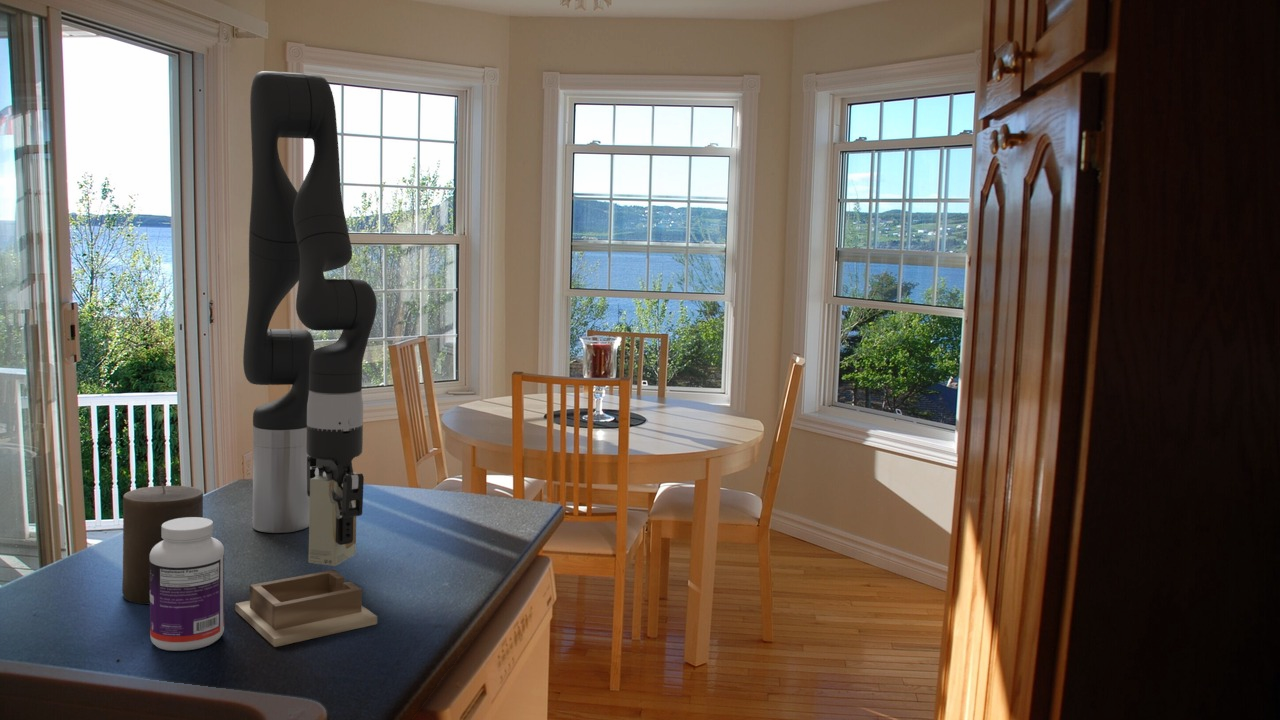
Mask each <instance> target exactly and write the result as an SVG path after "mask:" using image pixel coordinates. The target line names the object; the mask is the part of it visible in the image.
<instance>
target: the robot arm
mask: <svg viewBox="0 0 1280 720" xmlns="http://www.w3.org/2000/svg"><path fill="white" fill-rule="evenodd" d="M250 89H251V90H250V96H249V97H250V101H249V103H250V110H249V111H250V130H251V131H250V133H251V134H250V137H251V161H252V169H251V171H252V175H251V177H252V179H251V181H252V182H251V200H250V201H251V202H250V215H249V229H248V231H249V233H248V235H249V236H248V300H247V301H248V303H247V311H246V313H247V314H246V321H245V322H246V324H245V333H244V343H243V353H242V354H243V361H242V364H243V371H244V372H243V373H244V377H245V378H246V380H247V382H248V383H250V384H252V385H258V386H270V385H271V386H282V385H283V386H284V385H285V386H286V385H287V386H288V385H289V386H290V385H291V389H290V390H289V391H288V392H286V394H284V395H282V396H281V397H280V398H277V399H275V400H273V401H271V402H268V403H265V404H262V405H259V406H257V407H256V408H255V409H254V410H253V413H252V528H253V530H255V531H258V532H262V533H269V534H282V533H283V534H284V533H293V532H297V531H302V530H305V529H307V528H309V511H310V479H311V478H314V477H317V476H321V475H323V478H324V479H325V480H326V481H330V480H334V481H336V482H337V483H338V486H339V488H341V490H342V491H343V495H336V493H335V491H334V490H333V488H332V487H331V485H330V494H331V495H330V502H331V503H334V504H335V511H336V516H337V518H336V542H337V543H338V544H339V545H343V544H349V543H351V542H352V541H353V518H354V517H355V516H357V517H359V516H360V517H361V516H362V515H363V506H364V505H363V504H364V502H363V501H364V481H365V480H364V477H365V476H364V474H363V473H358V474H354V473H355V472H354V469H353V463H352V462H353V460H354V459H355V458H357V457H359V456H361V455H362V453H363V446H364V445H363V437H364V434H363V433H364V401H363V391H362V389H363V386H362V385H363V362H364V358H365V357H364V356H365V353H366V350H367V346H368V341H369V338H370V334H371V332H372V329H373V325H374V322H375V319H376V315H377V314H376V313H377V309H378V308H377V304H378V302H377V297H376V293H375V291H374V289H373V288H372V287H371V285H370V284H369V283H368V282H367V281H365V280H364V279H363V280H362V279H355V278H354V279H350V278H349V279H348V278H346V279H345V278H343V279H341V278H340V279H339V278H337V279H336V278H325V275H324V273H325V272H330V271H334V270H338V269H340V268H344V267H345V266H347V265H348V264H349V263H350V262H351V260H352V257H353V250H352V244H351V238H350V234H349V228H348V224H347V219H346V214H345V211H344V210H345V209H344V204H343V199H342V198H343V197H342V196H343V195H342V187H341V185H342V184H341V169H340V154H339V153H340V151H339V137H338V125H337V113H336V105H335V99H334V93H333V91H332V88H331V86H330V83H329V82H328V80H327V79H326V78H325V77H323V76H321V75H319V74H314V73H313V74H312V73H303V72H302V73H301V72H287V71H274V70H272V71H270V70H263V71H259V72H256V74H255V75H254V77H253V79H252V84H251V88H250ZM279 138H281V139H282V138H284V139H289V138H290V139H311V140H312V141H313V147H314V150H313V160H312V162H311V165H310V166H309V170H308V171H307V174H306V176H305V177H304V180H303V181H302V183H301V185H300V187H299V189H298V190H297V189H296V188H295V186H294V185H293V184H292V181H291V179H290V178H289V176H288V175H287V173H286V171H285V169H284V166H283V164H282V162H281V159H280V155H279V149H278V147H279V146H278V145H279V143H278V142H279ZM296 284H297V291H296V300H295V301H296V303H295V310H296V314H297V317H298V319H299V320H300V322H301V323H302V325H304V326H305V327H306V328H307V329H309V330H311V331H342V332H341V334H340V336H339V338H338V339H337V341H336V342H334V343H331V344H329V345H326V346H321V347H318V348H316V349H315V341H314V337H313V336H312V334H311V332H310V331H309V330H307V329H299V328H293V329H292V328H269V326H270V323H271V322H272V318H273V316H274V314H275V312H276V310H277V308H278V307H279V306H280V303H281V302H282V301H283V300H284V298H285V297H286V296H287V295H288V294H289V292H290V291H291V290H292V289H293V288H294V287H295V286H296ZM354 500H356V507H355V502H354ZM341 502H342V506H341Z"/></svg>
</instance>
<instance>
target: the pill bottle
mask: <svg viewBox="0 0 1280 720" xmlns="http://www.w3.org/2000/svg"><path fill="white" fill-rule="evenodd" d="M213 532H214V522H213V520H212V519H210V518H208V517H207V518H206V517H203V518H201V517H186V518H177V519H173V520H169V521H167V522H164V523H163V524H162V527H161V535H162V538H163V539H164V540H163V541H161V542H159V543H158V544H156V545H155V546H154V547H153V548H152V550H151V552H150V604H149V636H150V641H151V643H152V644H153V645H155V647H157V648H158V649H160V650H164V651H172V652H173V651H175V652H178V651H179V652H181V651H191V650H192V651H193V650H197V649H202V648H205V647H207V646H210V645H212V644H214V643H216V642H217V641H218V640H219V639H221V636H222V635H223V633H224V631H225V548H224V547H225V546H224V545H223V543H222V542H221V541H220V540H218V539H217V538H216V537H213V534H214V533H213Z"/></svg>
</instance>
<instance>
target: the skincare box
mask: <svg viewBox="0 0 1280 720" xmlns="http://www.w3.org/2000/svg"><path fill="white" fill-rule="evenodd" d="M353 473H354V474H359V473H358V472H353ZM330 485H331V487H332V488H333V490H334V491H335V493H336V495H343V491H342V490H341V488H339V486H338V483H337V482H336V481H334V480H330V481H326V480H325V479H324V478H323V475H321V476H317V477H314V478H311V479H310V511H309V527H308V563H309V564H316V565H322V566H331V567H337V566H338V565H340V564H341V563H343V562H345V561H346V560H348V559H350V558H351V557H353V556H355V555H356V552H357V551H356V548H357V517H358V516H355V517H354V518H353V541H352V542H351V543H349V544H343V545H339V544H338V543H337V542H336V518H337V516H336V511H335V504H334V503H331V502H330V495H331V494H330ZM354 502H355V507H356V500H354ZM341 506H342V502H341Z"/></svg>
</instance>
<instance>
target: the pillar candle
mask: <svg viewBox="0 0 1280 720" xmlns="http://www.w3.org/2000/svg"><path fill="white" fill-rule="evenodd" d="M122 504H123V509H122V510H123V511H122V512H123V514H122V515H123V517H122V520H123V521H122V523H123V525H122V527H123V528H122V541H123V542H122V590H121V592H122V595H123V598H124V599H125V600H126V601H127V602H128V601H129V602H131V603H135V604H142V605H143V604H144V605H150V552H151V550H152V548H153V547H154V546H155V545H156V544H158V543H159V542H161V541H163V540H164V539H163V538H162V535H161V527H162V524H163V523H164V522H167V521H169V520H173V519H177V518H186V517H201V518H204V517H203V515H204V493H203V490H202V489H200V488H199V487H195V486H184V485H165V484H164V483H161V485H156V486H147V487H139V488H136V489H133V490H129V491H127V492H126V493H124V494H123V503H122Z"/></svg>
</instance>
